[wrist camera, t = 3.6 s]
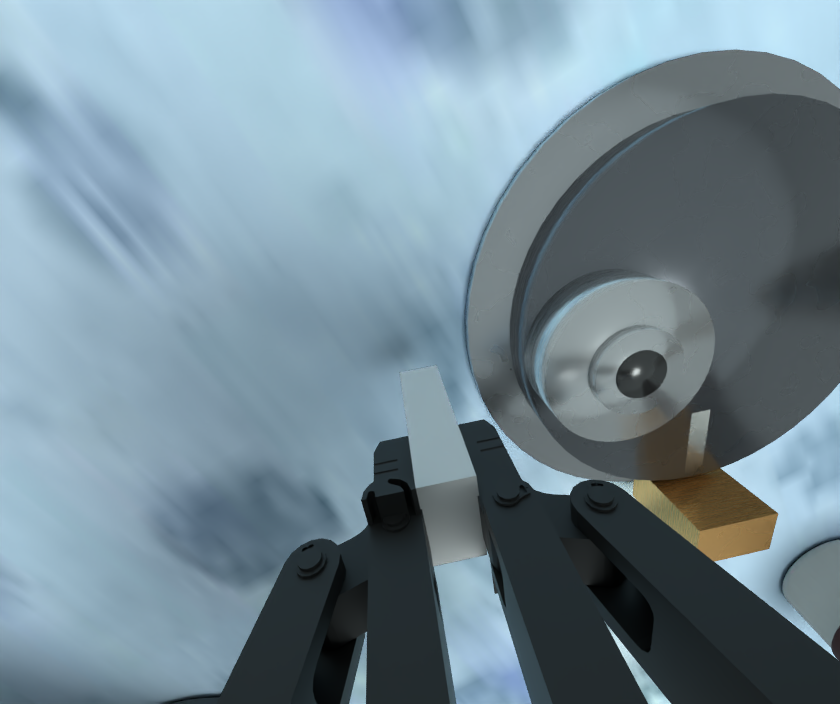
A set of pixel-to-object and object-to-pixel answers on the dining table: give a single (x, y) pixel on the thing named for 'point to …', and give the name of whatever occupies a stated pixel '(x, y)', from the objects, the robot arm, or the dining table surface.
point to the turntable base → (555, 172)
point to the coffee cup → (817, 591)
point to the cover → (619, 353)
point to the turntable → (710, 293)
